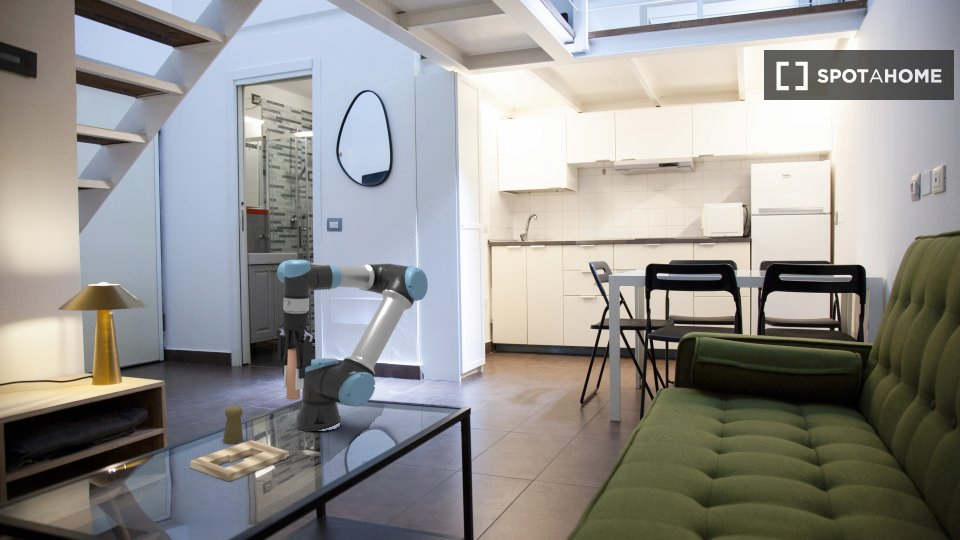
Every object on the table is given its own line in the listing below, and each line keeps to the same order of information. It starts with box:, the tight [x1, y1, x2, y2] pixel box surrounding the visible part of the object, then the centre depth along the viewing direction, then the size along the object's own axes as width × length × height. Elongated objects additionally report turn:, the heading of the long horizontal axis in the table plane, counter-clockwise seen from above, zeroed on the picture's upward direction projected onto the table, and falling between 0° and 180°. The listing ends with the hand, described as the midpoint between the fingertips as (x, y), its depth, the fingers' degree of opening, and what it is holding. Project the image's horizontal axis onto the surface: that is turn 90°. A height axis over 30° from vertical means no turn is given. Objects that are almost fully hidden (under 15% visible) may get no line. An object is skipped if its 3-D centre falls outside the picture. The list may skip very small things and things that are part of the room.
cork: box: [222, 405, 244, 445], centre depth 216 cm, size 6×6×11 cm
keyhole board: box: [189, 439, 290, 482], centre depth 199 cm, size 22×16×2 cm
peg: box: [285, 347, 301, 401], centre depth 207 cm, size 4×4×15 cm
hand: (293, 387), depth 208 cm, fingers closed on peg, 4 cm apart
